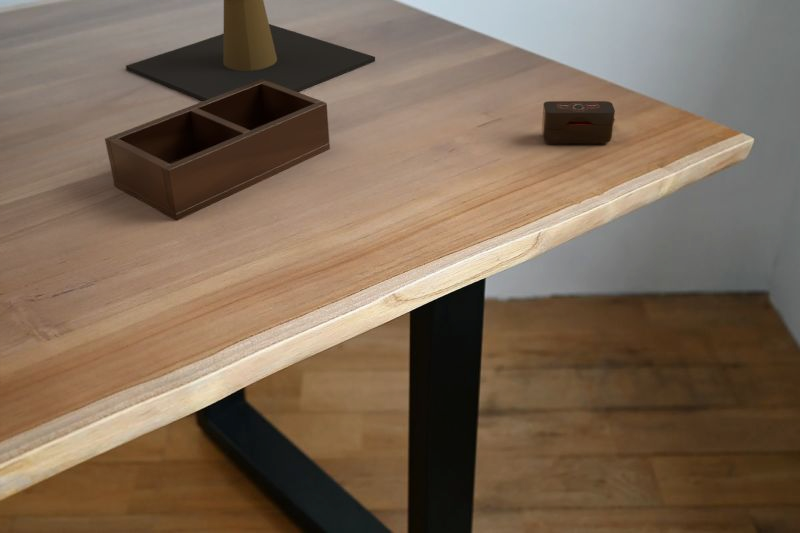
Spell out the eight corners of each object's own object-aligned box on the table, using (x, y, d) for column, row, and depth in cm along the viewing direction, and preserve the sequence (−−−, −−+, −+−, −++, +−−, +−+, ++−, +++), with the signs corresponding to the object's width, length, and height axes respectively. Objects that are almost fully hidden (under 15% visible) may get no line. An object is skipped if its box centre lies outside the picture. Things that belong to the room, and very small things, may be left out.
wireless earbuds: (620, 145, 84) (624, 113, 82) (543, 145, 84) (545, 113, 83) (613, 124, 88) (616, 93, 86) (539, 124, 88) (541, 93, 87)
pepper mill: (232, 51, 106) (220, -46, 100) (282, 52, 105) (273, -45, 99) (216, 70, 101) (202, -31, 95) (269, 71, 100) (258, -30, 94)
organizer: (114, 186, 79) (104, 138, 77) (266, 122, 90) (261, 78, 88) (177, 220, 74) (167, 170, 72) (330, 148, 85) (327, 102, 82)
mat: (126, 69, 103) (125, 65, 103) (261, 25, 115) (260, 21, 115) (238, 115, 92) (238, 111, 91) (375, 60, 104) (375, 56, 104)
